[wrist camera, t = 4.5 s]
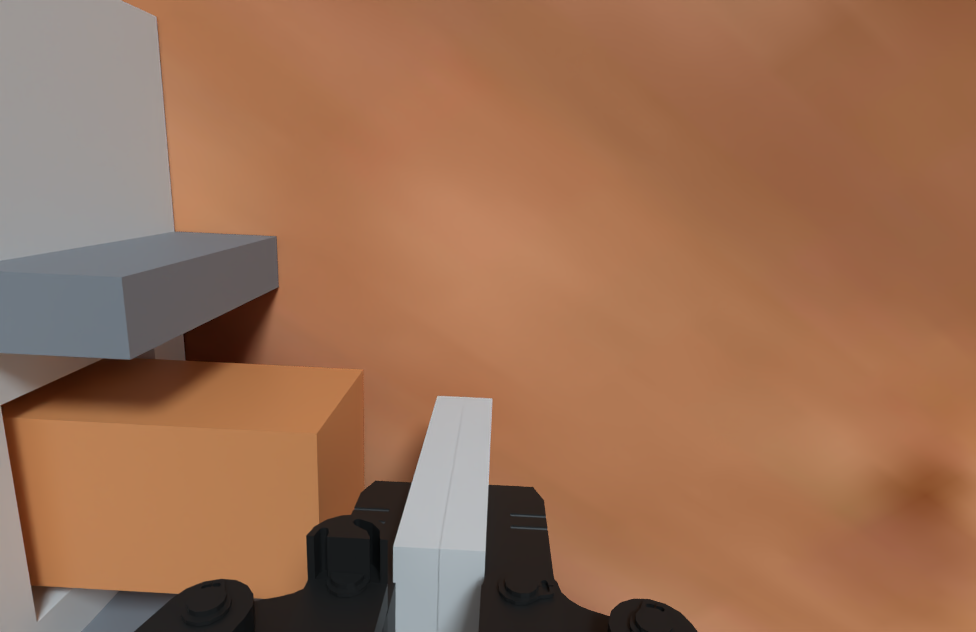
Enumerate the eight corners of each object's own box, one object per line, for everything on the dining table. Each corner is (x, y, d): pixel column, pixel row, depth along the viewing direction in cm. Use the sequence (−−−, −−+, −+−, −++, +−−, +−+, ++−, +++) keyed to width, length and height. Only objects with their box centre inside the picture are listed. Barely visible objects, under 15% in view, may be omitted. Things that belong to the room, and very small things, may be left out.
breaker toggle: (106, 487, 17) (-15, 582, 13) (89, 355, 16) (-47, 414, 12) (364, 502, 17) (321, 602, 13) (363, 369, 16) (316, 433, 12)
